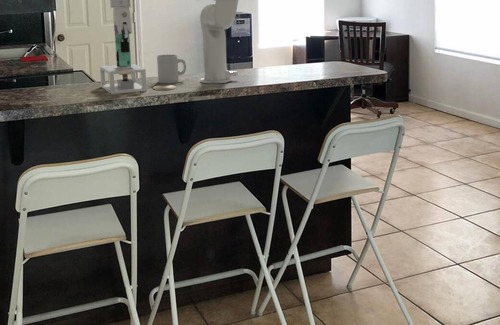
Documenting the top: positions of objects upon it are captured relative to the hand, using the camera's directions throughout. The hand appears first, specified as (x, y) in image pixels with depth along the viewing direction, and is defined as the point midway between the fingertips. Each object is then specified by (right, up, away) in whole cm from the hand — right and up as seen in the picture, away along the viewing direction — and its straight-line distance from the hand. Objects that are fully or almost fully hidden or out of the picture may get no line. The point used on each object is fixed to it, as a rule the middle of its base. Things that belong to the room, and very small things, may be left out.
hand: (123, 50), depth 269 cm
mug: (+16, -9, +24) cm, 31 cm away
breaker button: (0, -12, +3) cm, 12 cm away
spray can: (0, -6, +2) cm, 7 cm away
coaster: (+15, -14, +8) cm, 22 cm away
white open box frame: (-1, -14, +8) cm, 16 cm away
